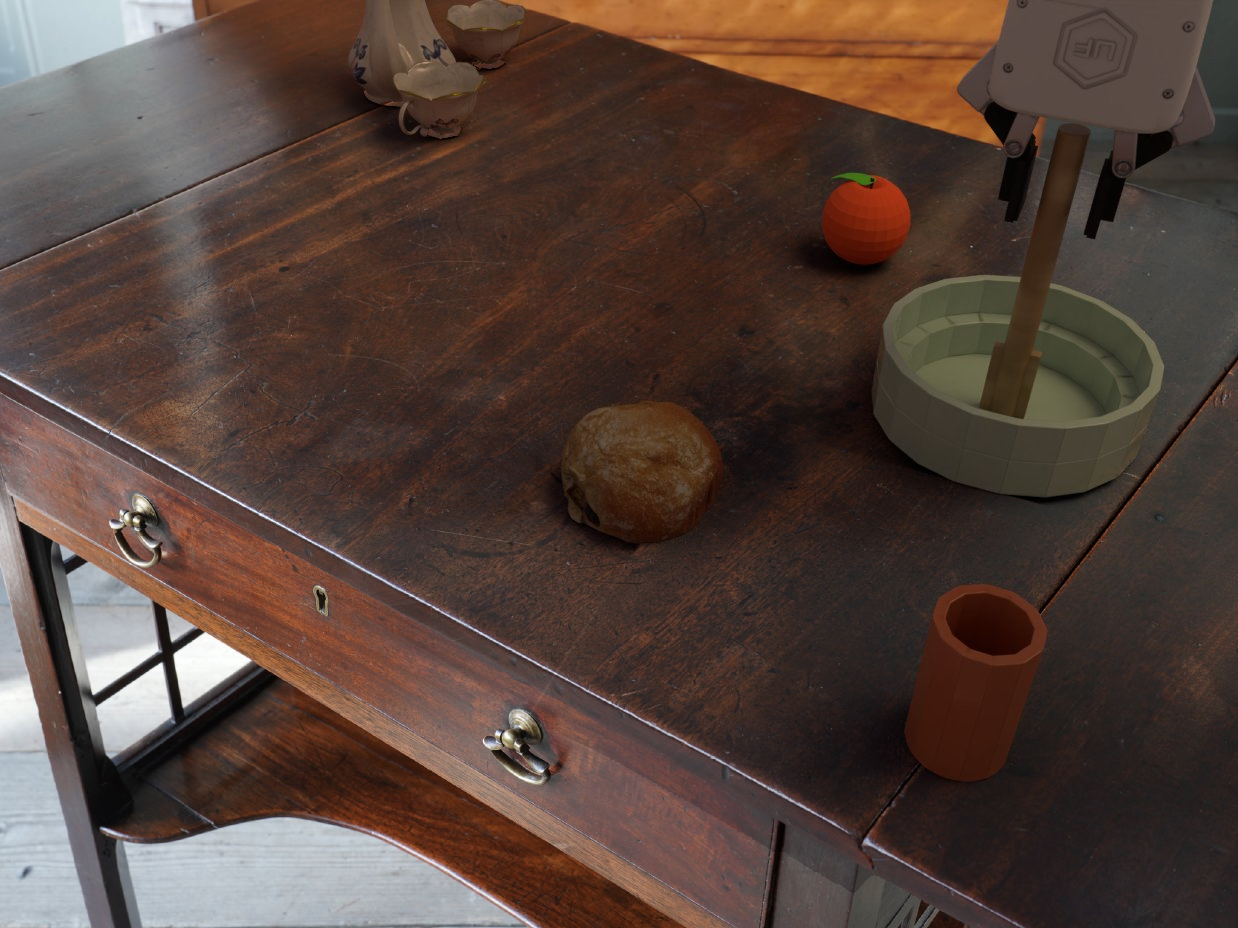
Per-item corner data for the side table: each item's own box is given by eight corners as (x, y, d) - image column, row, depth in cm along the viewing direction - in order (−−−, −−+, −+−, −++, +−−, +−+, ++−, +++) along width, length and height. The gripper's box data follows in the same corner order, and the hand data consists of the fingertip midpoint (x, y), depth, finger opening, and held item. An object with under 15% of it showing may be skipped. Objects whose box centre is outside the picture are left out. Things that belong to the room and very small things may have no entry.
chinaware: (488, 172, 114) (497, -8, 103) (311, 147, 113) (301, -36, 103) (528, 59, 135) (538, -99, 125) (379, 38, 135) (376, -122, 124)
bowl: (1149, 382, 86) (1175, 309, 82) (1119, 535, 73) (1148, 457, 70) (905, 325, 91) (919, 254, 87) (840, 458, 79) (851, 383, 75)
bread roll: (551, 523, 79) (507, 461, 73) (646, 406, 82) (612, 336, 75) (667, 597, 74) (631, 538, 67) (765, 469, 76) (739, 401, 70)
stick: (1027, 409, 82) (1104, 127, 69) (1022, 424, 81) (1099, 140, 68) (982, 398, 83) (1050, 118, 70) (976, 412, 82) (1045, 130, 69)
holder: (1013, 726, 62) (1054, 603, 56) (994, 802, 59) (1036, 679, 53) (916, 694, 64) (947, 571, 58) (892, 767, 60) (922, 643, 54)
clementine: (789, 255, 99) (797, 175, 94) (837, 225, 103) (848, 146, 98) (873, 290, 95) (886, 207, 90) (919, 257, 99) (934, 176, 94)
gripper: (955, -109, 61) (899, 219, 73) (1319, -66, 56) (1196, 281, 67) (985, -143, 66) (928, 168, 78) (1319, -106, 61) (1205, 221, 73)
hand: (1053, 217), depth 73 cm, fingers open, 4 cm apart
